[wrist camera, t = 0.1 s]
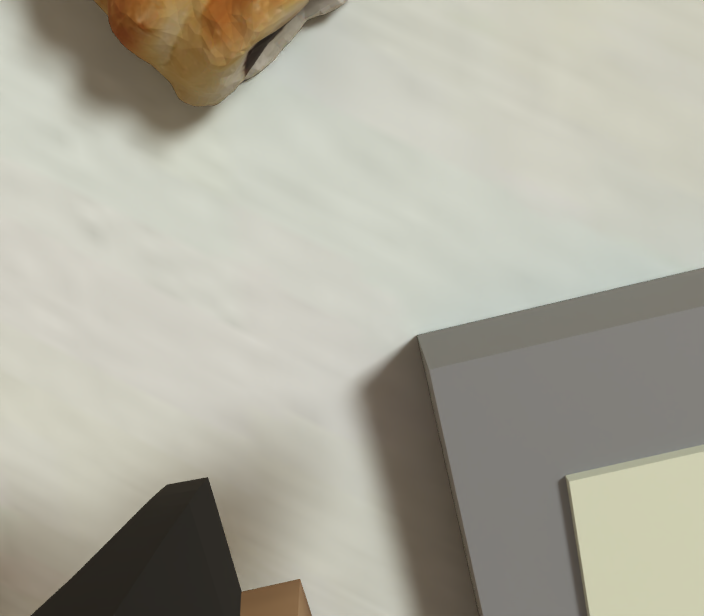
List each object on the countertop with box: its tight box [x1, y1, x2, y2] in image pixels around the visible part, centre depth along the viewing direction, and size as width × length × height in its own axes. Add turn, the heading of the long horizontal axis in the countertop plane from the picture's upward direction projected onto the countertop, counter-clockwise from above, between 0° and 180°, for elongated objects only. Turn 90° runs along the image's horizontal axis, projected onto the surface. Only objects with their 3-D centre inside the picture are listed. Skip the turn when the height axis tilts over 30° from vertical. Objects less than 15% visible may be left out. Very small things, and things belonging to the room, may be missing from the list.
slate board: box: [417, 268, 704, 616], centre depth 21 cm, size 16×14×3 cm
